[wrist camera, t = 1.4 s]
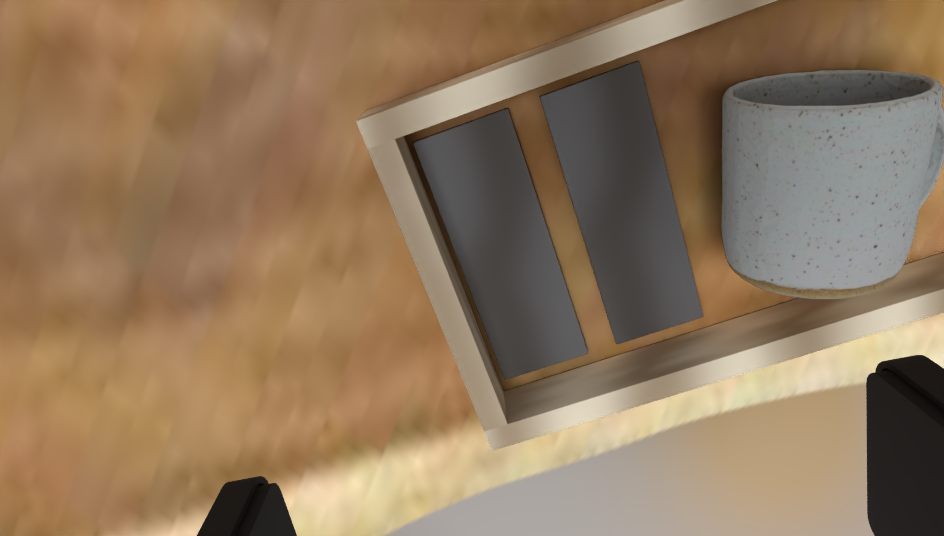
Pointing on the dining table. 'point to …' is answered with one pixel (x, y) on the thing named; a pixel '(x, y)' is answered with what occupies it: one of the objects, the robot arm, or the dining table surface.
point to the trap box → (586, 237)
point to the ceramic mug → (827, 177)
